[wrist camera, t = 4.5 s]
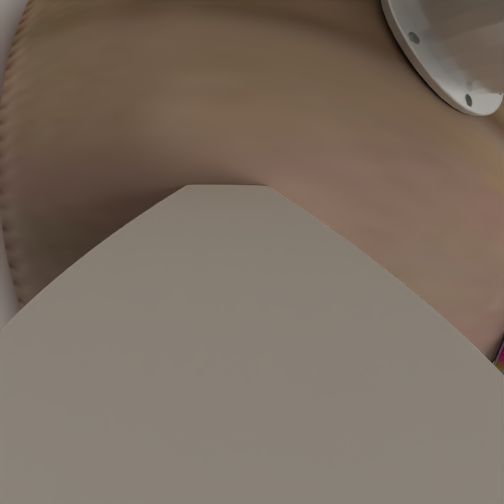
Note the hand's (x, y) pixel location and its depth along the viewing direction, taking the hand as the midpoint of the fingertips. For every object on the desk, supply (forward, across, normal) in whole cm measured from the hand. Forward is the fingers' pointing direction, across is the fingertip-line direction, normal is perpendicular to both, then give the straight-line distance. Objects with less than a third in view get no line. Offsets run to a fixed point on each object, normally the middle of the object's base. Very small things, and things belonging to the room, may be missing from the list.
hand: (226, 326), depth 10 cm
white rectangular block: (+4, 0, 0) cm, 4 cm away
